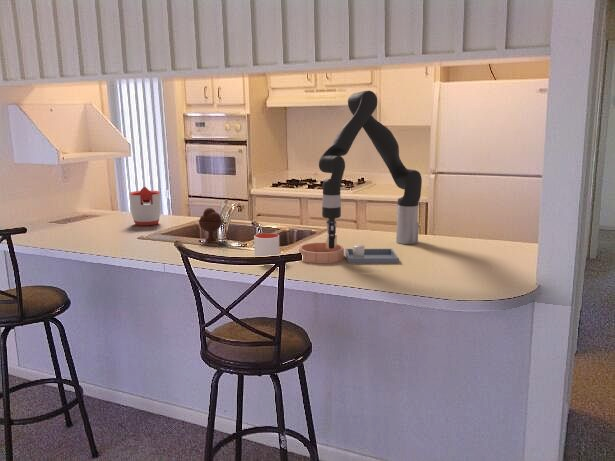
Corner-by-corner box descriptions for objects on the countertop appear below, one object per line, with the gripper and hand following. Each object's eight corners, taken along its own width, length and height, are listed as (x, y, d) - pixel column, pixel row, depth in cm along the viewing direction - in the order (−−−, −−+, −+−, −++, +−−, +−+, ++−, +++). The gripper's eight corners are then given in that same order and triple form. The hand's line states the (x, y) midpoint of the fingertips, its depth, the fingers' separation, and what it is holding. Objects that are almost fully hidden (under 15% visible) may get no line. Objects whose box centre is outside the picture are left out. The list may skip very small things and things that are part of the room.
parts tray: (391, 254, 235) (392, 248, 234) (398, 264, 220) (398, 258, 219) (345, 254, 235) (345, 248, 234) (348, 264, 219) (348, 258, 219)
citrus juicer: (132, 228, 287) (130, 189, 282) (130, 222, 303) (127, 185, 298) (164, 226, 292) (162, 188, 288) (160, 220, 308) (158, 184, 304)
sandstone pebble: (336, 246, 230) (336, 234, 229) (337, 249, 226) (337, 236, 225) (325, 246, 230) (325, 234, 229) (325, 249, 226) (325, 236, 225)
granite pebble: (363, 256, 229) (363, 244, 228) (364, 259, 225) (365, 247, 224) (352, 256, 229) (352, 244, 228) (353, 259, 225) (353, 247, 224)
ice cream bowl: (194, 241, 258) (193, 209, 255) (209, 236, 268) (208, 205, 265) (213, 244, 253) (211, 211, 250) (227, 239, 263) (226, 207, 260)
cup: (282, 257, 230) (282, 233, 228) (275, 263, 221) (275, 238, 219) (259, 256, 233) (258, 232, 230) (251, 262, 223) (250, 237, 221)
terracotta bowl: (341, 252, 238) (341, 242, 237) (344, 264, 220) (345, 252, 219) (299, 252, 238) (299, 242, 237) (299, 264, 220) (299, 253, 219)
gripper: (342, 208, 217) (341, 251, 221) (339, 202, 231) (339, 243, 235) (322, 208, 217) (322, 251, 221) (321, 202, 231) (321, 243, 235)
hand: (331, 246), depth 228 cm, fingers closed on sandstone pebble, 4 cm apart
